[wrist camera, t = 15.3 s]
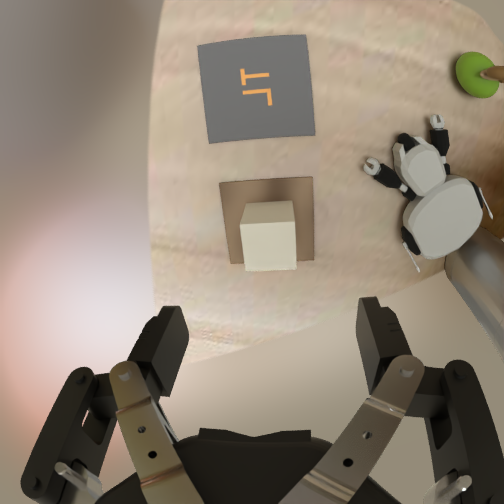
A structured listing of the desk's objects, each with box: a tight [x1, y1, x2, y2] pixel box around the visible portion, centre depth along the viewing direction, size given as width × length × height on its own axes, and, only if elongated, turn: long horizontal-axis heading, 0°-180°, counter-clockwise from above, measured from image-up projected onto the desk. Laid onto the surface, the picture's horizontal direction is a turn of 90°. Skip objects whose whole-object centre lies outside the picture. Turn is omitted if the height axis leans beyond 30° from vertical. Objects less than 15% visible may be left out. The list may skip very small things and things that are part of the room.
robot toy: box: [363, 115, 493, 272], centre depth 28 cm, size 12×4×15 cm
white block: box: [240, 201, 297, 272], centre depth 31 cm, size 5×5×6 cm
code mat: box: [197, 35, 315, 144], centre depth 27 cm, size 11×11×1 cm
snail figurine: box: [456, 52, 504, 98], centre depth 17 cm, size 5×6×12 cm
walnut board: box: [219, 177, 314, 264], centre depth 33 cm, size 10×10×1 cm
